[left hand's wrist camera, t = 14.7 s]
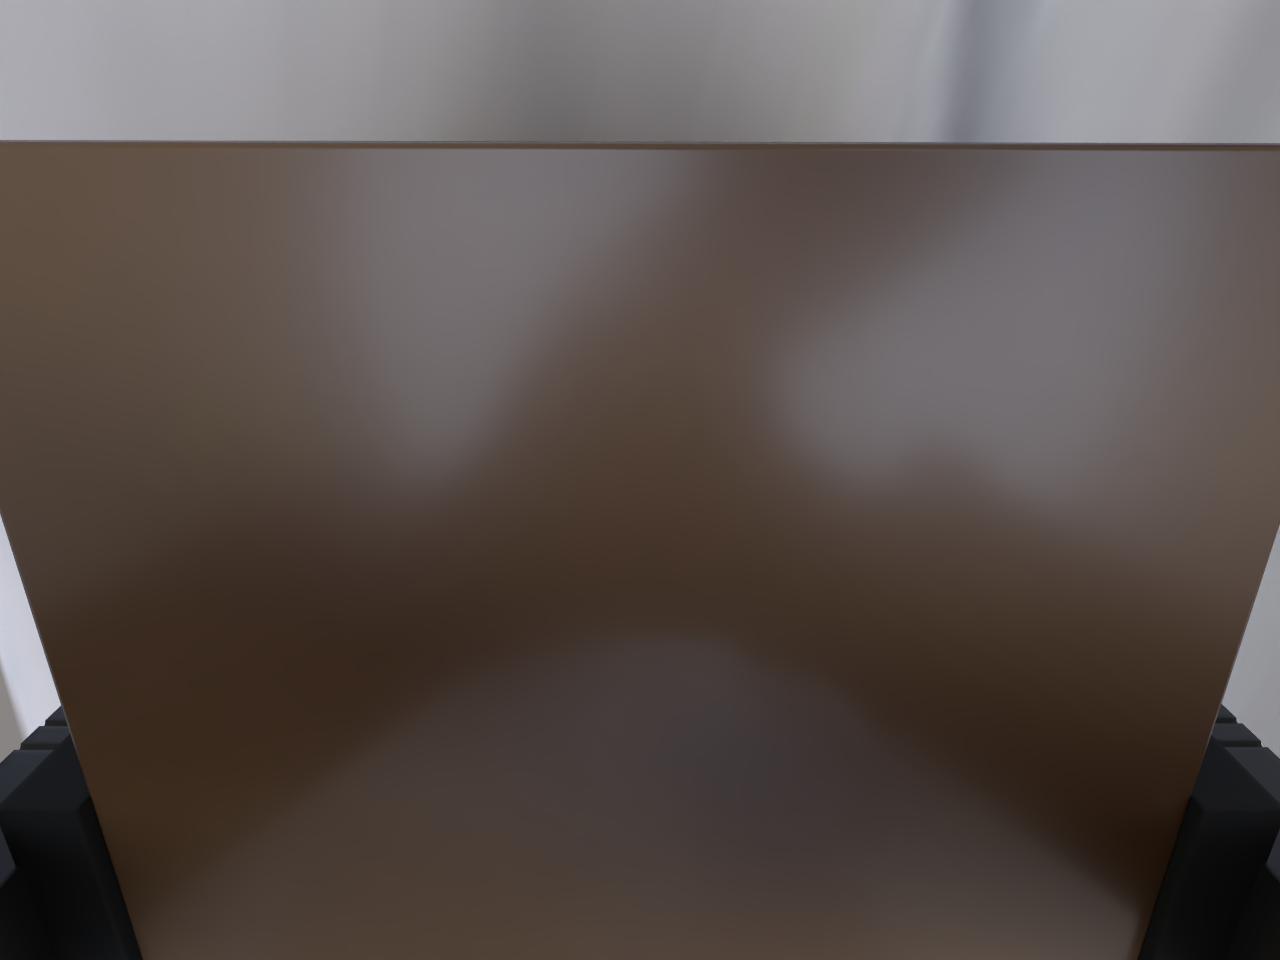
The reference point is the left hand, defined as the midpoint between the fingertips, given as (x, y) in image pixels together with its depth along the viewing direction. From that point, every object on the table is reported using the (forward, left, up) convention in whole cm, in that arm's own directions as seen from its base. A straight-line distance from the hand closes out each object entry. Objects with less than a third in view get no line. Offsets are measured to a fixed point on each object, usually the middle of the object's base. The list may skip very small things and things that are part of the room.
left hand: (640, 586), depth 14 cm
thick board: (+2, +20, -1) cm, 20 cm away
